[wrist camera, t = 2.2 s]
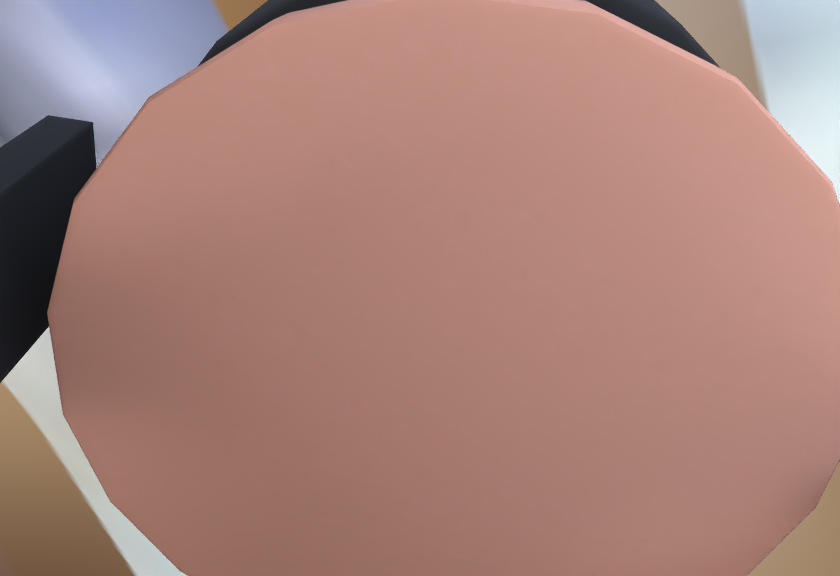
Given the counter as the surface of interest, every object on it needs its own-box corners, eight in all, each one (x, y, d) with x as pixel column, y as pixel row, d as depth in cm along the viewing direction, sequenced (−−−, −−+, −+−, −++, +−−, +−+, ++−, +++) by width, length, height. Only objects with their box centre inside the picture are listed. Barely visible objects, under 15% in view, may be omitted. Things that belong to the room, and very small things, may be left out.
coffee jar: (247, -35, 25) (-140, 185, 9) (578, -175, 22) (821, -202, 7) (376, 250, 29) (266, 714, 14) (660, 160, 27) (912, 599, 12)
